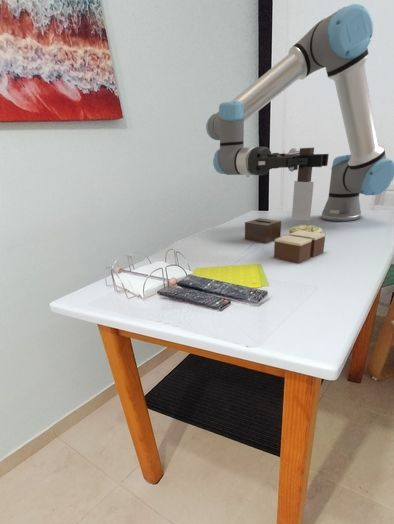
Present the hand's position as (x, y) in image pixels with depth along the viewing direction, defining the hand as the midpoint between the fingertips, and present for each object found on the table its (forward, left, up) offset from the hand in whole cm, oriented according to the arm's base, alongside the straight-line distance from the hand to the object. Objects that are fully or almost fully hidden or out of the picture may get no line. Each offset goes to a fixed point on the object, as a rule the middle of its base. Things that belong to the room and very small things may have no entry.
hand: (324, 160), depth 87 cm
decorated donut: (-15, -18, -26) cm, 35 cm away
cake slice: (+4, -4, -26) cm, 26 cm away
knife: (+1, -5, -15) cm, 16 cm away
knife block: (-4, -28, -26) cm, 38 cm away
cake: (-3, -6, -26) cm, 26 cm away
